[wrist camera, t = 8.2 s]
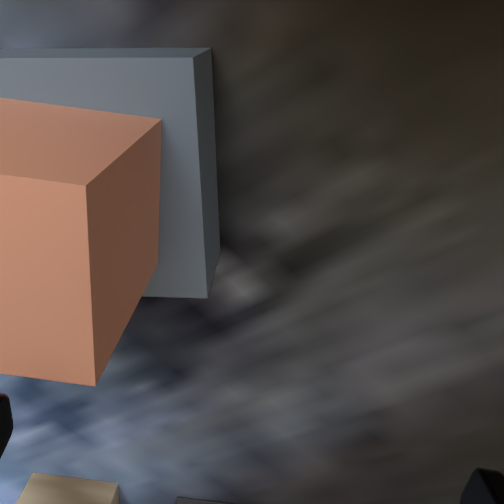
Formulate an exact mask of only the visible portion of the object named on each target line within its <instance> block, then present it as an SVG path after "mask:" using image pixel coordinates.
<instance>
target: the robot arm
mask: <svg viewBox="0 0 504 504" xmlns="http://www.w3.org/2000/svg"><path fill="white" fill-rule="evenodd" d="M12 431H13V419H12V413H11V407H10V400H9V397H8V396H7V395H6V394H3V393H0V458H1V456H2V454H3V452H4V450H5V448H6V446H7V443H8V441H9V439H10V437H11V434H12ZM460 504H504V476H503V475H502V474H501V473H500V472H498V471H496V470H491V469H484V468H476V469H475V470H474V471H473V472H472V474H471V476H470V478H469V480H468V482H467V484H466V486H465V488H464V490H463V492H462V495H461V499H460Z"/></svg>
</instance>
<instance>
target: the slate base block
mask: <svg viewBox="0 0 504 504" xmlns="http://www.w3.org/2000/svg"><path fill="white" fill-rule="evenodd" d="M0 98H7V99H14V100H22V101H30V102H37V103H45V104H52V105H60V106H67V107H75V108H83V109H90V110H98V111H105V112H113V113H121V114H128V115H136V116H143V117H151V118H158V119H162V130H161V167H160V205H159V242H158V265H157V267H156V269H155V271H154V273H153V275H152V277H151V279H150V281H149V283H148V285H147V287H146V289H145V291H144V293H143V295H142V296H144V297H179V298H208V295H209V291H210V287H211V284H212V280H213V276H214V273H215V269H216V265H217V262H218V258H219V254H220V233H219V210H218V188H217V165H216V142H215V120H214V97H213V74H212V51H211V48H26V49H0Z"/></svg>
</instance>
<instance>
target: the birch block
mask: <svg viewBox="0 0 504 504" xmlns="http://www.w3.org/2000/svg"><path fill="white" fill-rule="evenodd" d="M16 504H119V494H118V483H113V482H105V481H97V480H89V479H81V478H73V477H65V476H57V475H49V474H41V473H32V475H31V477H30V479H29V480H28V482H27V484H26V486H25V488H24V490H23V491H22V493H21V495H20V497H19V499H18V501H17V502H16Z"/></svg>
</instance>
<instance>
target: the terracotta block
mask: <svg viewBox="0 0 504 504" xmlns="http://www.w3.org/2000/svg"><path fill="white" fill-rule="evenodd" d="M161 130H162V119H158V118H151V117H143V116H136V115H128V114H121V113H113V112H105V111H98V110H90V109H83V108H75V107H67V106H60V105H52V104H45V103H37V102H30V101H22V100H14V99H7V98H0V373H1V374H8V375H16V376H23V377H30V378H37V379H45V380H52V381H59V382H66V383H74V384H81V385H88V386H96V384H97V383H98V381H99V379H100V377H101V375H102V373H103V371H104V369H105V367H106V365H107V363H108V361H109V359H110V357H111V355H112V353H113V351H114V349H115V347H116V345H117V343H118V341H119V340H120V338H121V336H122V334H123V332H124V330H125V328H126V326H127V324H128V322H129V320H130V318H131V316H132V314H133V312H134V310H135V308H136V306H137V304H138V302H139V300H140V298H141V297H142V295H143V293H144V291H145V289H146V287H147V285H148V283H149V281H150V279H151V277H152V275H153V273H154V271H155V269H156V267H157V265H158V242H159V205H160V167H161Z"/></svg>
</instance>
